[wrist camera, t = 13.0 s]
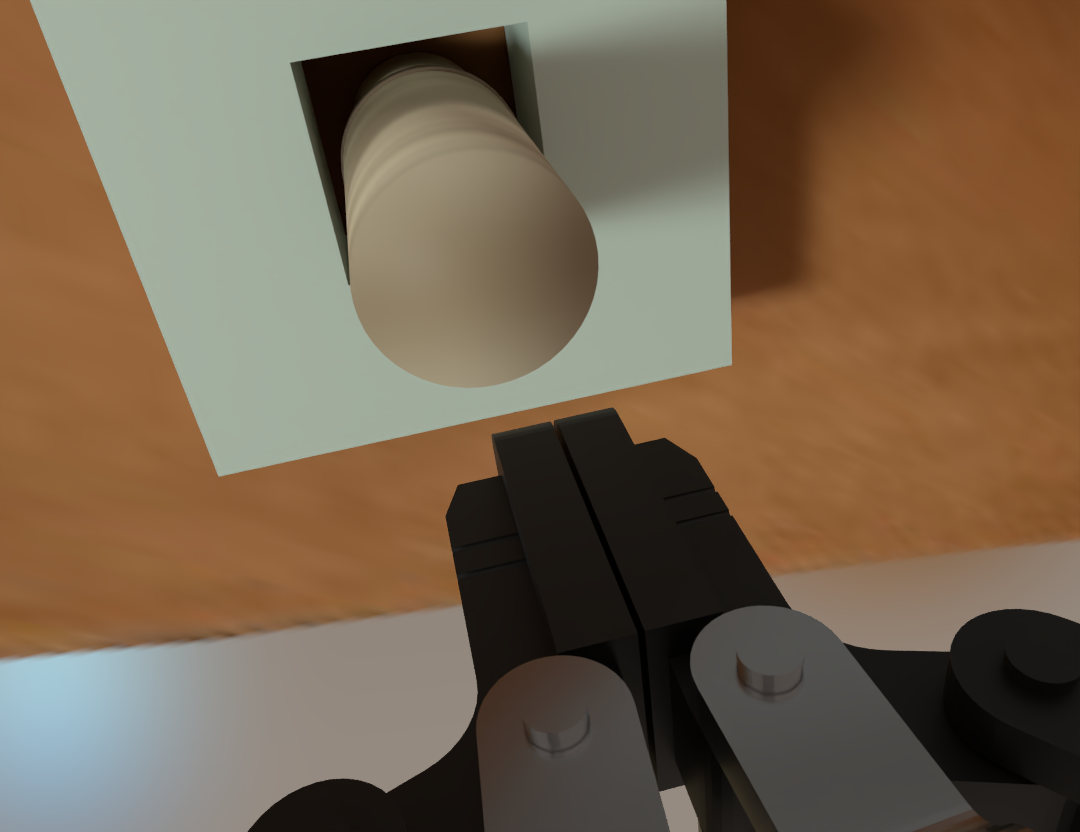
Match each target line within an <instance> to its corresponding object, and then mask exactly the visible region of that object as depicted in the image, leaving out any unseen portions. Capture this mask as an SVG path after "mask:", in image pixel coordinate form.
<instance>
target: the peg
mask: <svg viewBox="0 0 1080 832" xmlns="http://www.w3.org/2000/svg"><path fill="white" fill-rule="evenodd" d="M341 170H342V176H343V182H344V187H345V204H346V221H347V239H348V256H349V273H350V289H351V294H352V299H353V304H354V307H355V310H356V313H357V316H358V318H359V320H360V322H361V324H362V326H363V328H364V330H365V332H366V333H367V335H368V336H369V338H370V339H371V341H372V342H373V344H374V345H375V346H376V347H377V348H378V349H379V350H380V351H381V352H382V353H383V354H384V355H385V356H386V357H387V358H388V359H389V360H391V361H392V362H393V363H394V364H395V365H397V366H398V367H400V368H402V369H403V370H405V371H406V372H408V373H410V374H412V375H414V376H416V377H418V378H421V379H423V380H426V381H429V382H432V383H435V384H440V385H445V386H450V387H461V388H477V387H487V386H493V385H498V384H502V383H506V382H509V381H512V380H515V379H517V378H520V377H522V376H525V375H527V374H529V373H531V372H532V371H534V370H536V369H538V368H540V367H541V366H542V365H544V364H545V363H547V362H548V361H550V360H551V359H552V358H553V357H554V356H556V355H557V354H558V353H559V352H560V351H561V350H562V349H563V348H564V347H565V346H566V345H567V344H568V343H569V342H570V340H571V339H572V338H573V337H574V335H575V334H576V333H577V331H578V330H579V328H580V327H581V325H582V323H583V321H584V320H585V318H586V316H587V314H588V312H589V309H590V307H591V304H592V301H593V299H594V295H595V290H596V286H597V280H598V270H599V265H598V250H597V244H596V239H595V235H594V232H593V229H592V226H591V223H590V221H589V219H588V217H587V215H586V213H585V211H584V209H583V208H582V206H581V205H580V203H579V202H578V200H577V199H576V197H575V196H574V195H573V193H572V192H571V191H570V189H569V188H568V187H567V185H566V184H565V183H564V182H563V180H562V179H561V178H560V176H559V175H558V174H557V172H556V171H555V170H554V168H553V167H552V166H551V165H550V163H549V162H548V161H547V159H546V158H545V157H544V155H543V154H542V153H541V151H540V150H539V149H538V147H537V146H536V145H535V144H534V142H533V141H532V140H531V138H530V137H529V136H528V134H527V133H526V132H525V130H524V129H523V128H522V127H521V125H520V124H519V123H518V121H517V119H516V117H515V115H514V114H513V112H512V111H511V109H510V108H509V106H508V105H507V104H506V102H505V101H504V100H503V99H502V97H501V96H500V95H499V94H498V93H497V92H496V91H495V90H494V89H493V88H492V87H491V86H489V85H488V84H487V83H486V82H484V81H483V80H481V79H480V78H478V77H476V76H474V75H472V74H470V73H468V72H466V71H464V70H463V69H462V68H461V67H459V66H458V65H456V64H455V63H453V62H452V61H450V60H448V59H446V58H444V57H441V56H438V55H435V54H430V53H421V52H414V53H405V54H401V55H397V56H395V57H392V58H390V59H388V60H386V61H384V62H383V63H381V64H380V65H378V66H377V67H376V68H375V69H373V70H372V71H371V72H370V73H369V74H368V76H367V77H366V78H365V80H364V81H363V82H362V84H361V86H360V87H359V89H358V91H357V94H356V96H355V99H354V103H353V107H352V113H351V115H350V117H349V119H348V121H347V124H346V127H345V130H344V134H343V138H342V145H341Z"/></svg>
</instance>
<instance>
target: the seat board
mask: <svg viewBox="0 0 1080 832" xmlns="http://www.w3.org/2000/svg"><path fill="white" fill-rule="evenodd" d="M30 2H31V4H32V7H33V9H34V12H35V14H36V17H37V19H38V22H39V24H40V27H41V29H42V32H43V34H44V37H45V39H46V42H47V45H48V47H49V50H50V52H51V55H52V57H53V60H54V62H55V65H56V67H57V70H58V72H59V75H60V77H61V80H62V82H63V85H64V87H65V90H66V92H67V95H68V98H69V100H70V103H71V105H72V108H73V110H74V113H75V115H76V118H77V120H78V123H79V125H80V128H81V130H82V133H83V135H84V138H85V140H86V143H87V145H88V148H89V151H90V153H91V156H92V158H93V161H94V163H95V166H96V168H97V171H98V173H99V176H100V178H101V181H102V183H103V186H104V188H105V191H106V193H107V196H108V198H109V201H110V203H111V206H112V209H113V211H114V214H115V216H116V219H117V221H118V224H119V226H120V229H121V231H122V234H123V236H124V239H125V241H126V244H127V246H128V249H129V251H130V254H131V256H132V259H133V262H134V264H135V267H136V269H137V272H138V274H139V277H140V279H141V282H142V284H143V287H144V289H145V292H146V294H147V297H148V299H149V302H150V304H151V307H152V309H153V312H154V314H155V317H156V320H157V322H158V325H159V327H160V330H161V332H162V335H163V337H164V340H165V342H166V345H167V347H168V350H169V352H170V355H171V357H172V360H173V362H174V365H175V367H176V370H177V373H178V375H179V378H180V380H181V383H182V385H183V388H184V390H185V393H186V395H187V398H188V400H189V403H190V405H191V408H192V410H193V413H194V415H195V418H196V420H197V423H198V426H199V428H200V431H201V433H202V436H203V438H204V441H205V443H206V446H207V448H208V451H209V453H210V456H211V458H212V461H213V463H214V466H215V468H216V471H217V473H218V476H224V475H228V474H233V473H237V472H242V471H246V470H251V469H256V468H260V467H265V466H269V465H274V464H279V463H283V462H288V461H292V460H297V459H302V458H306V457H311V456H315V455H320V454H325V453H329V452H334V451H338V450H343V449H348V448H352V447H357V446H361V445H366V444H371V443H375V442H380V441H384V440H389V439H393V438H398V437H403V436H407V435H412V434H416V433H421V432H426V431H430V430H435V429H439V428H444V427H449V426H453V425H458V424H462V423H467V422H472V421H476V420H481V419H485V418H490V417H495V416H499V415H504V414H508V413H513V412H518V411H522V410H527V409H531V408H536V407H541V406H545V405H550V404H554V403H559V402H563V401H568V400H573V399H577V398H582V397H586V396H591V395H596V394H600V393H605V392H609V391H614V390H619V389H623V388H628V387H632V386H637V385H642V384H646V383H651V382H655V381H660V380H665V379H669V378H674V377H678V376H683V375H688V374H692V373H697V372H701V371H706V370H711V369H715V368H720V367H724V366H729V365H732V347H731V278H730V210H729V141H728V72H727V4H726V0H30ZM499 26H504V28H505V35H506V42H507V49H508V57H509V64H510V71H511V78H512V86H513V93H514V100H515V107H516V115H517V121H518V123H519V124H520V125H521V127H522V128H523V129H524V130H525V132H526V133H527V134H528V136H529V137H530V138H531V140H532V141H533V142H534V144H535V145H536V146H537V147H538V149H539V150H540V151H541V153H542V154H543V155H544V157H545V158H546V159H547V161H548V162H549V163H550V165H551V166H552V167H553V168H554V170H555V171H556V172H557V174H558V175H559V176H560V178H561V179H562V180H563V182H564V183H565V184H566V185H567V187H568V188H569V189H570V191H571V192H572V193H573V195H574V196H575V197H576V199H577V200H578V202H579V203H580V205H581V206H582V208H583V209H584V211H585V213H586V215H587V217H588V219H589V221H590V223H591V226H592V229H593V232H594V235H595V239H596V244H597V250H598V265H599V270H598V280H597V286H596V290H595V295H594V299H593V301H592V304H591V307H590V309H589V312H588V314H587V316H586V318H585V320H584V321H583V323H582V325H581V327H580V328H579V330H578V331H577V333H576V334H575V335H574V337H573V338H572V339H571V340H570V342H569V343H568V344H567V345H566V346H565V347H564V348H563V349H562V350H561V351H560V352H559V353H558V354H557V355H556V356H554V357H553V358H552V359H551V360H550V361H548V362H547V363H545V364H544V365H542V366H541V367H540V368H538V369H536V370H534V371H532V372H531V373H529V374H527V375H525V376H522V377H520V378H517V379H515V380H512V381H509V382H506V383H502V384H498V385H493V386H487V387H477V388H461V387H450V386H445V385H440V384H435V383H432V382H429V381H426V380H423V379H421V378H418V377H416V376H414V375H412V374H410V373H408V372H406V371H405V370H403V369H402V368H400V367H398V366H397V365H395V364H394V363H393V362H392V361H391V360H389V359H388V358H387V357H386V356H385V355H384V354H383V353H382V352H381V351H380V350H379V349H378V348H377V347H376V346H375V345H374V344H373V342H372V341H371V339H370V338H369V336H368V335H367V333H366V332H365V330H364V328H363V326H362V324H361V322H360V320H359V318H358V316H357V313H356V310H355V307H354V304H353V299H352V294H351V289H350V273H349V256H348V239H347V235H345V231H344V227H343V223H342V219H341V215H340V211H339V208H338V204H337V200H336V196H335V192H334V188H333V184H332V180H331V176H330V172H329V169H328V165H327V161H326V157H325V153H324V149H323V145H322V141H321V137H320V133H319V129H318V126H317V122H316V118H315V114H314V110H313V106H312V102H311V98H310V94H309V90H308V87H307V83H306V79H305V75H304V71H303V67H302V63H301V61H302V60H308V59H314V58H319V57H325V56H331V55H337V54H343V53H348V52H354V51H360V50H366V49H372V48H377V47H383V46H389V45H395V44H401V43H406V42H412V41H418V40H424V39H430V38H435V37H441V36H447V35H453V34H459V33H464V32H470V31H476V30H482V29H488V28H493V27H499Z"/></svg>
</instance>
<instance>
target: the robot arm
mask: <svg viewBox="0 0 1080 832" xmlns="http://www.w3.org/2000/svg"><path fill="white" fill-rule="evenodd" d="M492 443H493V449H494V454H495V460H496V465H497V470H498V475H499V476H496V477H491V478H487V479H482V480H478V481H474V482H469V483H465V484H460V485H458V486H457V489H456V491H455V494H454V496H453V499H452V501H451V504H450V506H449V509H448V511H447V514H446V521H447V527H448V532H449V537H450V542H451V548H452V552H453V558H454V564H455V569H456V574H457V579H458V585H459V590H460V595H461V600H462V606H463V611H464V616H465V621H466V627H467V632H468V637H469V642H470V647H471V652H472V658H473V663H474V669H475V674H476V679H477V689H478V695H477V704H476V708H475V712H474V715H473V718H472V720H471V722H470V724H469V726H468V728H467V730H466V731H465V733H464V734H463V736H462V737H461V739H460V740H459V741H458V742H457V744H456V745H455V746H454V747H453V748H452V750H451V751H449V752H448V753H447V754H446V755H445V756H444V757H443V758H441V759H440V760H439V761H438V762H437V763H436V764H434V765H432V766H431V767H429V768H428V769H426V770H425V771H423V772H422V773H420V774H418V775H416V776H415V777H413V778H411V779H410V780H408V781H406V782H404V783H403V784H401V785H399V786H398V787H396V788H394V789H393V790H391V791H389V792H388V793H385V792H384V791H383V790H382V789H380V788H377V787H376V786H374V785H372V784H370V783H366V782H363V781H359V780H353V779H330V780H325V781H321V782H316V783H313V784H311V785H308V786H305V787H302V788H300V789H298V790H296V791H294V792H292V793H290V794H288V795H287V796H286V797H284V798H282V799H281V800H280V801H278V802H277V803H275V804H274V805H273V806H272V807H270V809H268V810H267V811H266V812H265V813H264V814H263V815H262V816H261V817H260V818H259V819H258V820H257V821H256V822H255V824H254V825H253V826H252V827H251V828H250V829H249V831H248V832H670V830H669V826H668V823H667V819H666V815H665V811H664V808H663V804H662V801H661V797H660V793H659V791H664V790H667V789H671V788H675V787H678V786H682V785H685V786H686V789H687V792H688V795H689V797H690V800H691V802H692V805H693V807H694V810H695V812H696V815H697V817H698V829H699V832H1080V624H1079V623H1076V622H1073V621H1071V620H1068V619H1065V618H1062V617H1059V616H1056V615H1052V614H1049V613H1044V612H1039V611H1035V610H1023V609H1005V610H998V611H992V612H988V613H985V614H982V615H979V616H977V617H975V618H974V619H971V620H970V621H968V622H967V623H966V624H965V625H964V626H962V627H961V628H960V630H959V631H958V632H957V634H956V635H955V637H954V639H953V642H952V644H951V650H950V652H936V651H932V652H931V651H890V650H875V649H867V648H861V647H856V646H852V645H849V644H846V643H842V642H841V640H840V639H839V638H838V637H837V636H836V635H835V634H834V633H833V632H832V630H830V629H829V628H828V627H826V626H825V625H824V624H823V623H821V622H819V621H818V620H816V619H814V618H812V617H811V616H808V615H806V614H804V613H801V612H798V611H795V610H792V609H791V608H790V606H789V605H788V604H787V602H786V601H785V599H784V597H783V596H782V594H781V593H780V591H779V589H778V588H777V586H776V585H775V583H774V582H773V580H772V578H771V577H770V575H769V573H768V572H767V570H766V569H765V567H764V565H763V564H762V562H761V561H760V559H759V557H758V556H757V554H756V553H755V551H754V549H753V548H752V546H751V545H750V543H749V541H748V540H747V538H746V537H745V535H744V533H743V532H742V530H741V529H740V527H739V525H738V524H737V522H736V521H735V519H734V517H733V516H730V514H729V509H728V508H727V506H726V505H725V503H724V501H723V500H722V498H721V497H720V495H719V493H718V492H715V489H714V485H713V484H712V482H711V481H710V479H709V477H708V476H707V474H706V473H705V471H704V469H703V468H702V466H701V465H700V463H699V461H698V460H697V458H695V457H694V456H692V455H691V454H689V453H688V452H686V451H685V450H683V449H681V448H680V447H678V446H677V445H675V444H674V443H672V442H670V441H669V440H667V439H666V438H662V439H658V440H653V441H649V442H644V443H640V444H636V445H634V443H633V441H632V439H631V438H630V436H629V434H628V432H627V430H626V428H625V426H624V424H623V423H622V421H621V419H620V417H619V415H618V413H617V412H616V410H615V409H614V408H608V409H603V410H599V411H594V412H590V413H585V414H581V415H576V416H572V417H567V418H563V419H558V420H554V427H553V425H552V423H551V422H546V423H541V424H537V425H532V426H528V427H523V428H519V429H514V430H510V431H505V432H501V433H496V434H492Z"/></svg>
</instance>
